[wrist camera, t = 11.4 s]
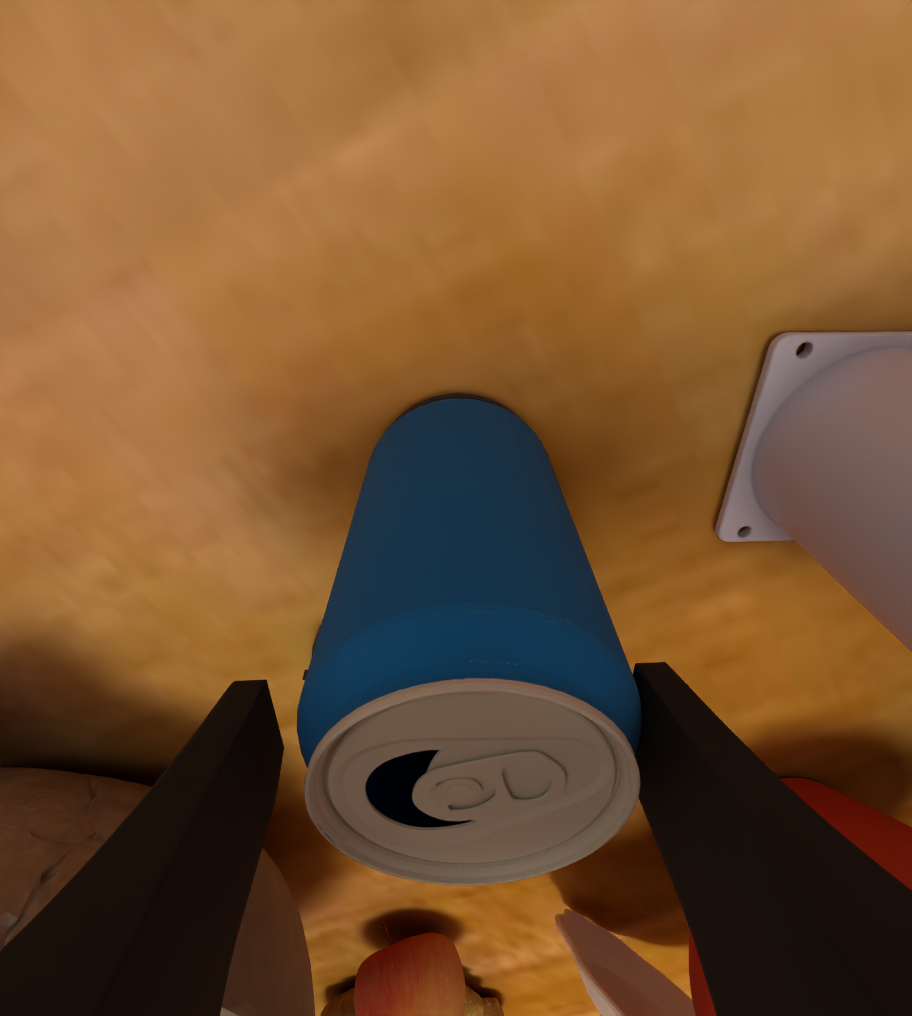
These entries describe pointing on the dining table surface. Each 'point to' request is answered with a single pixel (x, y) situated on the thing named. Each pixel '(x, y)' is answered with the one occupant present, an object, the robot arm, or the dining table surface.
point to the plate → (619, 973)
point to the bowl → (83, 830)
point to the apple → (412, 979)
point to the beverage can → (467, 666)
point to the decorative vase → (870, 830)
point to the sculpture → (478, 1011)
